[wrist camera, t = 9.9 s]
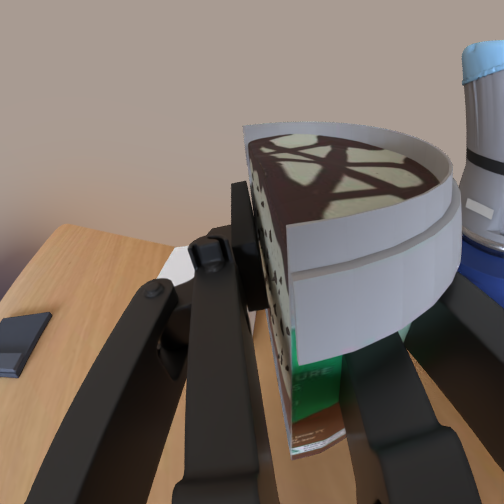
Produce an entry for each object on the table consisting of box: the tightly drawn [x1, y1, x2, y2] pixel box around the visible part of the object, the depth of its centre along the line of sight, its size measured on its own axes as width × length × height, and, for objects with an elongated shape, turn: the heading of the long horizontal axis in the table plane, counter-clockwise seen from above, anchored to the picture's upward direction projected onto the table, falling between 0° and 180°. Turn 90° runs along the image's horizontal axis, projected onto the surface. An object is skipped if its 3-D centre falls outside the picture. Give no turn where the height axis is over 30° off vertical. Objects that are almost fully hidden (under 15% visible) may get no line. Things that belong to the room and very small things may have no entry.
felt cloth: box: [0, 312, 52, 378], centre depth 26 cm, size 10×10×1 cm
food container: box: [243, 122, 462, 460], centre depth 11 cm, size 12×6×10 cm, turn 5°
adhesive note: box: [157, 246, 256, 337], centre depth 24 cm, size 6×6×6 cm
